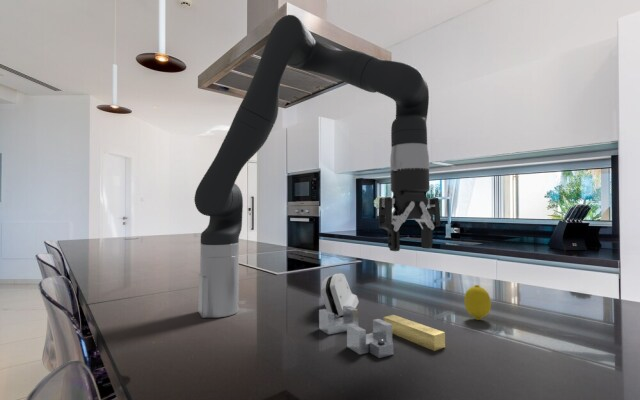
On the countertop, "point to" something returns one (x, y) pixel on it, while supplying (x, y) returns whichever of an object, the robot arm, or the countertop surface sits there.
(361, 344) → the linkage with metal pins
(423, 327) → the link bar
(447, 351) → the countertop surface
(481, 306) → the lemon
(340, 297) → the white rounded housing
